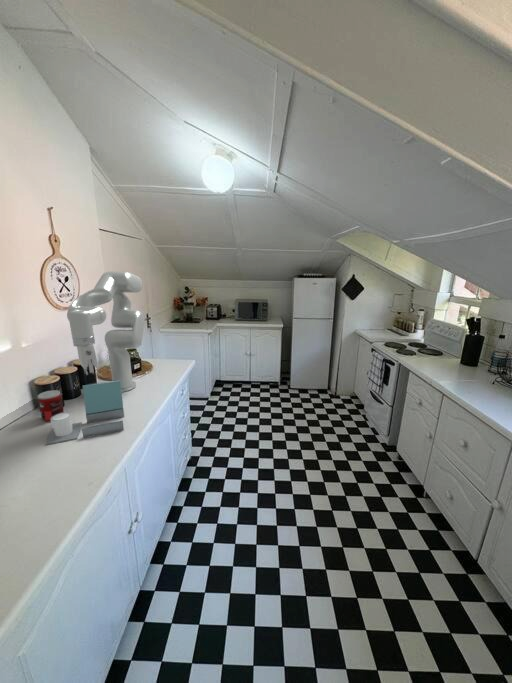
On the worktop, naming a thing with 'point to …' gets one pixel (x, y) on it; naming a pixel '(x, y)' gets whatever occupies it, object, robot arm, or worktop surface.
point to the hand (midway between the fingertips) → (90, 382)
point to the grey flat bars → (103, 427)
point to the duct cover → (102, 397)
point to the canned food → (50, 404)
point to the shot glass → (62, 423)
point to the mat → (72, 436)
